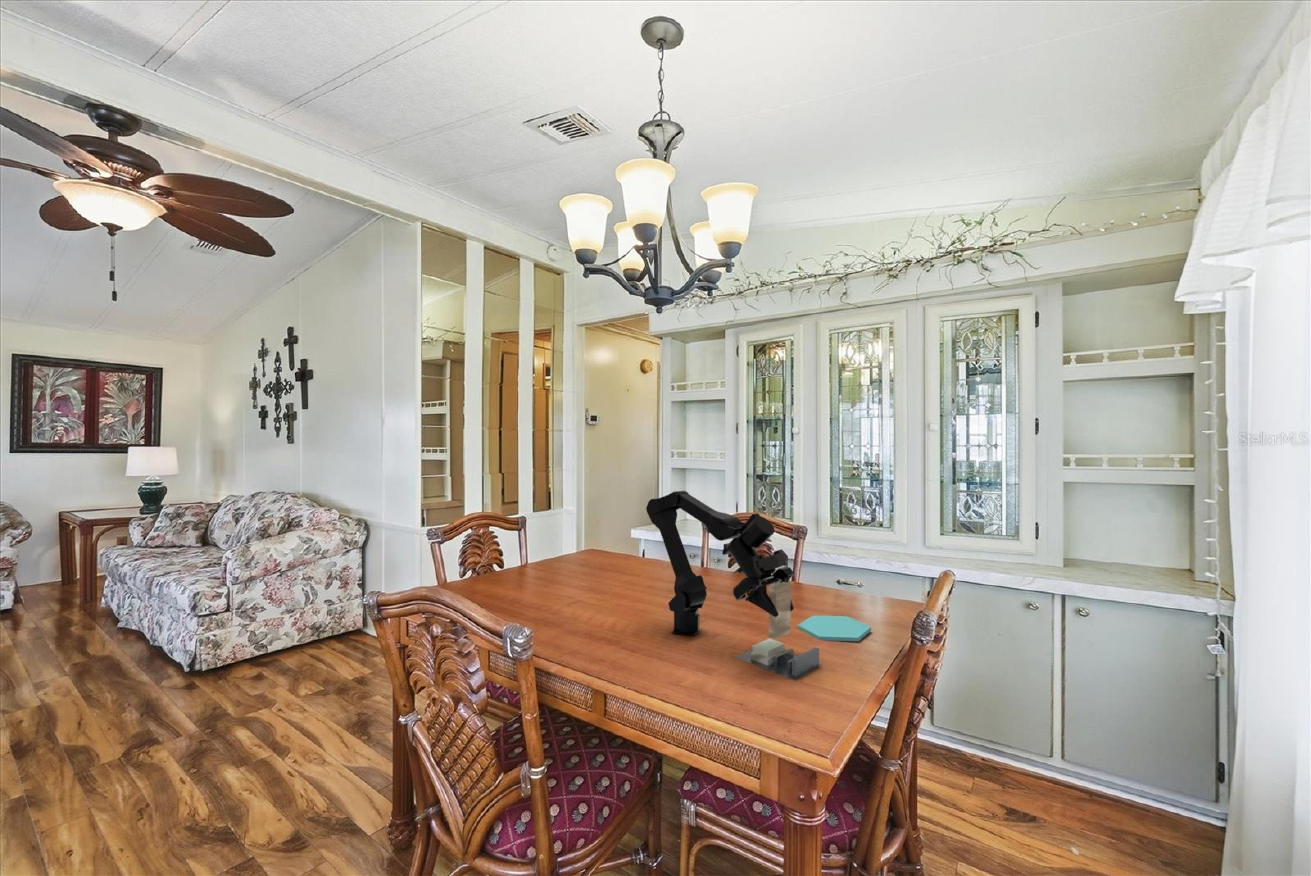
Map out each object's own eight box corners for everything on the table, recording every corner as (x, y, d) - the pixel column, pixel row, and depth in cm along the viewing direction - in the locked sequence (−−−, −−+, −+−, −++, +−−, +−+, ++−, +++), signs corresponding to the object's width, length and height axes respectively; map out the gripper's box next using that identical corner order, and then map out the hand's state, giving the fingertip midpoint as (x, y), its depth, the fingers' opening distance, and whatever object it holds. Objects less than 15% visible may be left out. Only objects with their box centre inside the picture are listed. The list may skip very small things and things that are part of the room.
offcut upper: (752, 651, 131) (752, 645, 131) (769, 644, 135) (769, 638, 135) (768, 657, 127) (768, 651, 127) (784, 649, 132) (784, 643, 132)
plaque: (800, 643, 146) (877, 646, 142) (799, 635, 146) (877, 638, 142) (796, 621, 163) (865, 623, 159) (796, 614, 163) (865, 616, 159)
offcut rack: (734, 661, 131) (734, 640, 131) (763, 648, 139) (763, 629, 139) (795, 685, 119) (795, 662, 119) (823, 669, 127) (823, 648, 127)
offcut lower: (750, 659, 130) (750, 653, 130) (770, 650, 135) (770, 644, 135) (768, 665, 126) (768, 659, 126) (787, 656, 132) (787, 650, 132)
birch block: (768, 637, 127) (769, 586, 127) (783, 630, 131) (783, 581, 131) (776, 639, 126) (776, 588, 126) (790, 633, 130) (790, 583, 130)
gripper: (743, 544, 125) (783, 603, 117) (788, 535, 138) (827, 587, 130) (717, 571, 131) (753, 629, 123) (762, 560, 143) (798, 611, 135)
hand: (784, 613), depth 127 cm, fingers closed on birch block, 6 cm apart
